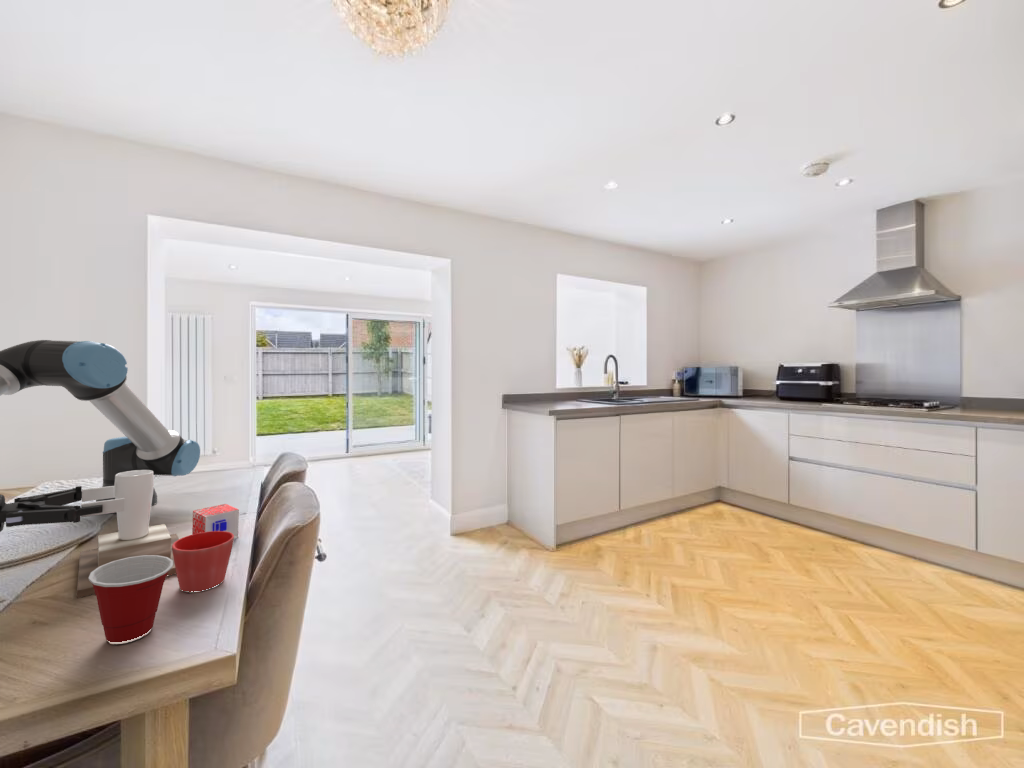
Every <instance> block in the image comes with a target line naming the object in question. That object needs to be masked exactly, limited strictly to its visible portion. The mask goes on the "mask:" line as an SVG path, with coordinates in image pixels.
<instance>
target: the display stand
mask: <svg viewBox="0 0 1024 768" xmlns="http://www.w3.org/2000/svg"><path fill="white" fill-rule="evenodd" d="M97 539H98V542H97V544H98V545H97V548H92V549H88V550H83V551H80V552H79V561H78V575H77V587H76V588H77V589H76V598H77V599H79V598H83V597H84V598H85V597H88V596H92V595H95V590H94V589H93V585H92V583H91V582H90V581H89V576H90V573H91V572H92V571H94V570H95V569H97V568H98V567H100V566H102V565H105V564H107V563H110V562H112V561H116V560H120V559H124V558H128V557H136V556H143V555H158V556H164V557H168V558H170V559H171V560H173V566H172V568H171V569H170V570H169V572H168V574H167V575H170V576H172V575H171V574H174V575H177V574H176V569H175V563H174V558H173V551H172V545H173V543H174V542H176V541H177V540H179V539H180V538H179V536H178V534H177V533H172V534H170V532H169V530H168V528H167V526H166V524H165V523H162V524H156V525H149V533H148V534H147V535H146V536H144V537H141V538H138V539H133V540H121V539H119V538H118V531H117V532H116V531H115V532H110V533H109V532H108V533H103V534H99V535H98V538H97ZM91 594H92V595H91ZM87 595H88V596H87Z"/></svg>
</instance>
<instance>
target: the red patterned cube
mask: <svg viewBox="0 0 1024 768" xmlns="http://www.w3.org/2000/svg"><path fill="white" fill-rule="evenodd" d="M239 516H240V509H239V508H237V507H235V506H232V505H229V504H227V503H224V504H219V505H214V506H209V507H203V508H199V509H195V510H192V528H191V529H192V530H191V531H192V532H191V533H192V534H191V535H193V534H197V533H202V532H209V531H226V532H231V533H232V534H233V535H234V539H237V538H239V519H240V517H239Z"/></svg>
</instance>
